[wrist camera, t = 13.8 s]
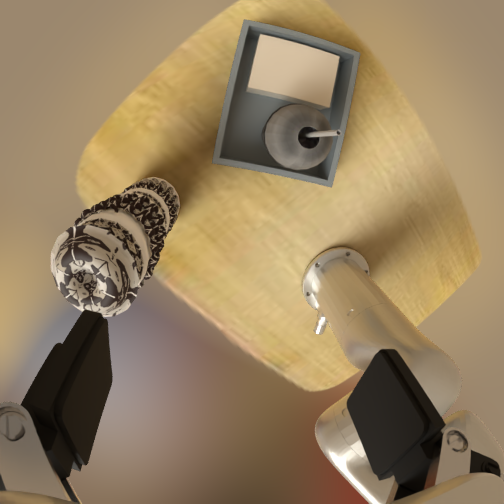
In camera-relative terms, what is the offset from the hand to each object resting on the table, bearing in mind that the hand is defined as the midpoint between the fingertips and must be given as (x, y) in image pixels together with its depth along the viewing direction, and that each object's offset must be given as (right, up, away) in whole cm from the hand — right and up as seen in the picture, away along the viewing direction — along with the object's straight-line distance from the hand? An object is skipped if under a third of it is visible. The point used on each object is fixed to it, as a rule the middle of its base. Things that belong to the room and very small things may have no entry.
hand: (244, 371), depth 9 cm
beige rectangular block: (+5, +29, +27) cm, 40 cm away
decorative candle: (-15, +11, +33) cm, 38 cm away
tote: (+4, +25, +29) cm, 39 cm away
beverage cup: (+4, +20, +30) cm, 37 cm away
